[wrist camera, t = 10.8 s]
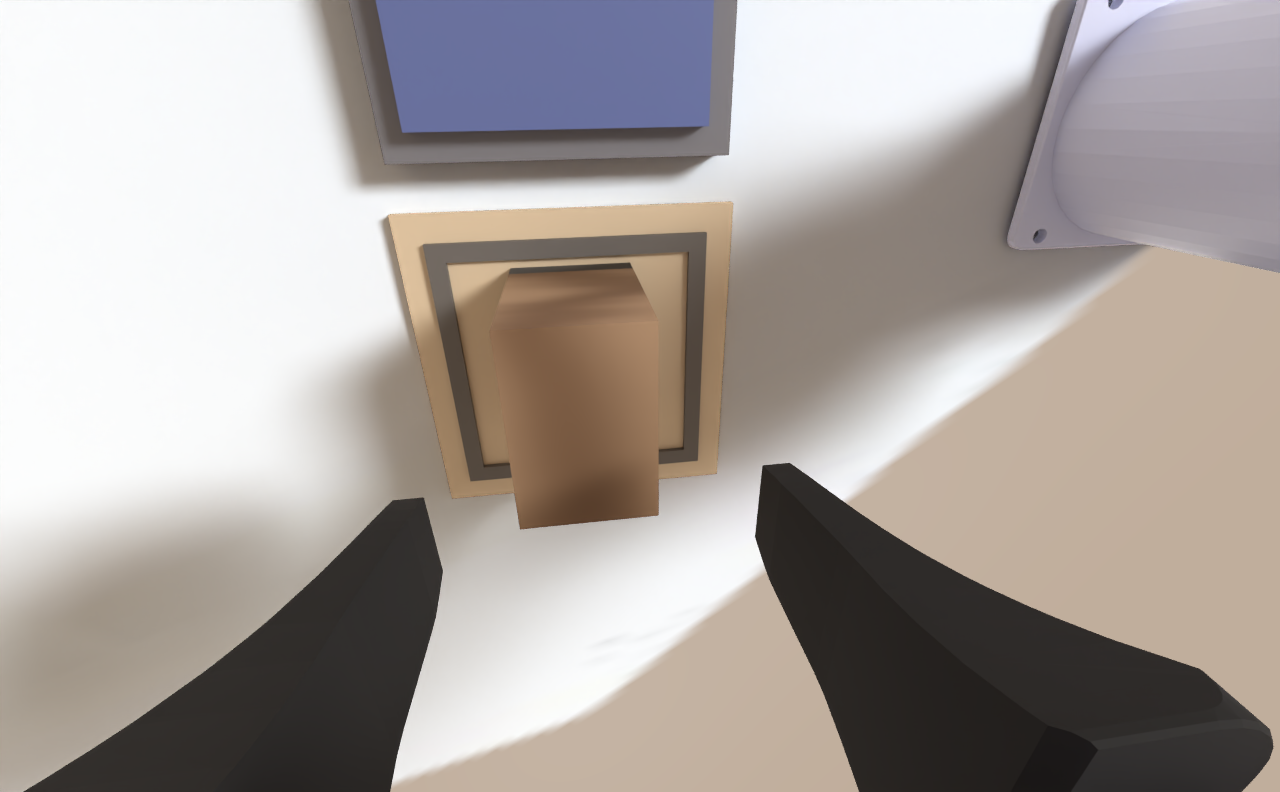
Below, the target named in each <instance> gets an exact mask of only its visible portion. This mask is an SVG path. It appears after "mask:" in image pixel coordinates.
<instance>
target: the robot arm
mask: <svg viewBox="0 0 1280 792" xmlns="http://www.w3.org/2000/svg"><path fill="white" fill-rule="evenodd" d="M1036 231H1038V235H1037V236H1036V238H1035V239H1033V236H1034V234H1035V232H1036ZM1007 242H1008V245H1009V246H1010V247H1011V248H1014V249H1018V250H1036V249H1056V248H1076V247H1096V246H1116V245H1136V244H1145V245H1150V246H1155V247H1160V248H1165V249H1169V250H1174V251H1179V252H1184V253H1189V254H1193V255H1198V256H1203V257H1208V258H1212V259H1217V260H1221V261H1226V262H1231V263H1236V264H1240V265H1245V266H1250V267H1255V268H1259V269H1264V270H1269V271H1274V272H1278V273H1280V0H1113V1H1112V3H1111V5H1110V7H1109V6H1108V0H1077V2H1076V6H1075V9H1074V12H1073V16H1072V19H1071V23H1070V26H1069V29H1068V33H1067V36H1066V40H1065V43H1064V46H1063V50H1062V53H1061V56H1060V60H1059V63H1058V67H1057V70H1056V73H1055V77H1054V80H1053V84H1052V87H1051V90H1050V94H1049V97H1048V100H1047V104H1046V107H1045V111H1044V114H1043V117H1042V121H1041V124H1040V128H1039V131H1038V134H1037V138H1036V141H1035V145H1034V148H1033V151H1032V155H1031V158H1030V161H1029V165H1028V168H1027V172H1026V175H1025V178H1024V182H1023V185H1022V189H1021V192H1020V195H1019V199H1018V202H1017V205H1016V209H1015V212H1014V216H1013V219H1012V222H1011V226H1010V229H1009V233H1008V237H1007ZM755 538H756V541H757V544H758V548H759V551H760V554H761V557H762V560H763V563H764V566H765V569H766V571H767V574H768V577H769V580H770V582H771V584H772V586H773V588H774V590H775V593H776V595H777V597H778V599H779V601H780V603H781V605H782V607H783V609H784V611H785V613H786V615H787V617H788V620H789V621H790V624H791V626H792V628H793V630H794V632H795V634H796V636H797V638H798V640H799V642H800V644H801V646H802V648H803V650H804V652H805V654H806V656H807V659H808V661H809V663H810V665H811V667H812V669H813V671H814V672H815V675H816V678H817V680H818V682H819V684H820V686H821V689H822V691H823V693H824V696H825V699H826V701H827V704H828V707H829V709H830V712H831V715H832V717H833V720H834V722H835V725H836V728H837V731H838V733H839V736H840V739H841V741H842V744H843V747H844V750H845V753H846V755H847V758H848V761H849V764H850V767H851V770H852V772H853V775H854V778H855V781H856V784H857V787H858V790H859V792H1242V791H1243V790H1244V789H1245V788H1246V786H1248V784H1249V783H1250V782H1251V781H1252V780H1253V779H1254V778H1255V777H1256V776H1257V775H1258V774H1259V773H1260V771H1261V770H1262V769H1263V767H1264V766H1265V765H1266V763H1267V762H1268V761H1269V759H1270V756H1271V753H1272V750H1273V740H1272V736H1271V732H1270V729H1269V728H1268V727H1267V726H1266V725H1264V724H1263V723H1262V722H1261V721H1260V720H1259V719H1257V718H1256V717H1255V716H1254V715H1253V714H1252V713H1250V712H1249V711H1248V710H1247V709H1246V708H1245V707H1244V706H1242V705H1241V704H1240V703H1239V702H1238V701H1237V700H1235V699H1234V698H1233V697H1232V696H1231V695H1230V694H1229V693H1227V692H1226V691H1225V690H1224V689H1223V688H1222V687H1221V686H1219V685H1218V684H1217V683H1216V682H1215V681H1214V680H1212V679H1211V678H1210V677H1209V676H1207V674H1205V673H1204V672H1203V671H1202V670H1200V669H1198V668H1195V667H1192V666H1189V665H1186V664H1183V663H1180V662H1177V661H1175V660H1171V659H1169V658H1166V657H1163V656H1160V655H1156V654H1154V653H1151V652H1147V651H1145V650H1142V649H1139V648H1136V647H1133V646H1130V645H1127V644H1124V643H1121V642H1117V641H1115V640H1112V639H1109V638H1106V637H1104V636H1101V635H1099V634H1096V633H1093V632H1091V631H1088V630H1086V629H1083V628H1081V627H1078V626H1075V625H1073V624H1070V623H1068V622H1065V621H1063V620H1060V619H1057V618H1055V617H1053V616H1050V615H1048V614H1045V613H1043V612H1041V611H1038V610H1036V609H1034V608H1031V607H1029V606H1027V605H1024V604H1022V603H1020V602H1018V601H1016V600H1013V599H1011V598H1009V597H1007V596H1005V595H1003V594H1000V593H998V592H996V591H994V590H992V589H990V588H987V587H985V586H983V585H981V584H979V583H977V582H975V581H973V580H971V579H969V578H967V577H965V576H963V575H962V574H960V573H958V572H956V571H954V570H952V569H950V568H948V567H947V566H945V565H943V564H941V563H939V562H937V561H936V560H934V559H932V558H930V557H928V556H926V555H925V554H923V553H921V552H920V551H918V550H916V549H914V548H913V547H911V546H910V545H908V544H907V543H905V542H903V541H902V540H900V539H898V538H897V537H895V536H894V535H892V534H890V533H889V532H887V531H886V530H884V529H882V528H881V527H880V526H878V525H877V524H875V523H874V522H872V521H870V520H869V519H868V518H866V517H865V516H863V515H862V514H860V513H859V512H857V511H856V510H854V509H853V508H852V507H850V506H849V505H847V504H846V503H845V502H843V501H842V500H840V499H839V498H838V497H836V496H835V495H834V494H832V493H831V492H829V491H828V490H827V489H825V488H824V487H823V486H821V485H820V484H818V483H817V482H816V481H814V480H813V479H812V478H810V477H809V476H808V475H806V474H805V473H803V472H802V471H801V470H799V469H798V468H796V467H795V466H793V465H792V464H790V463H784V464H773V465H763V467H762V477H761V486H760V496H759V505H758V514H757V524H756V533H755ZM442 573H443V570H442V566H441V562H440V559H439V555H438V551H437V547H436V543H435V539H434V536H433V532H432V528H431V524H430V520H429V517H428V513H427V509H426V505H425V501H424V498H414V499H403V500H393V501H392V502H391V503H390V504H389V505H388V506H387V507H386V508H385V509H384V510H383V511H382V512H381V513H380V514H379V515H378V516H377V517H376V518H375V519H374V520H373V521H372V522H371V523H370V524H369V525H368V526H367V527H366V528H365V529H364V530H363V531H362V532H361V533H360V534H359V535H358V536H357V537H356V538H355V539H354V540H353V541H352V542H351V543H350V544H349V545H348V546H347V547H346V548H345V549H344V550H343V551H342V552H341V553H340V554H339V555H338V556H337V557H336V558H335V559H334V560H333V561H332V562H331V563H330V564H329V565H328V566H327V567H326V568H325V569H324V570H323V571H322V572H321V573H320V574H319V575H318V576H317V577H316V578H315V579H314V580H312V581H311V582H310V583H309V584H308V585H307V586H306V587H305V588H304V589H303V590H302V591H300V592H299V593H298V594H297V595H296V596H295V597H294V598H293V599H292V600H291V601H289V602H288V603H287V604H286V605H285V606H284V607H283V608H282V609H281V610H280V611H279V612H277V613H276V614H275V615H274V616H273V617H272V618H271V619H269V620H268V621H267V622H266V623H265V624H264V625H262V626H261V627H260V628H259V629H258V630H256V631H255V632H254V633H253V634H252V635H250V636H249V637H248V638H247V639H246V640H244V641H243V642H242V643H241V644H239V645H238V646H237V647H235V648H234V649H233V650H232V651H230V652H229V653H228V654H227V655H225V656H224V657H223V658H222V659H220V660H219V661H218V662H216V663H215V664H214V665H213V666H211V667H210V668H209V669H207V670H206V671H205V672H203V673H202V674H201V675H199V676H198V677H196V678H195V679H194V680H192V681H191V682H189V683H188V684H187V685H185V686H184V687H182V688H181V689H179V690H178V691H177V692H175V693H174V694H172V695H171V696H170V697H168V698H167V699H165V700H164V701H163V702H161V703H160V704H158V705H157V706H156V707H154V708H153V709H151V710H150V711H149V712H147V713H146V714H144V715H143V716H142V717H140V718H139V719H137V720H136V721H134V722H133V723H131V724H130V725H128V726H127V727H125V728H124V729H122V730H121V731H119V732H118V733H116V734H115V735H113V736H112V737H110V738H109V739H107V740H105V741H104V742H102V743H101V744H99V745H98V746H96V747H95V748H93V749H92V750H90V751H89V752H87V753H85V754H84V755H82V756H81V757H79V758H77V759H76V760H74V761H73V762H71V763H69V764H68V765H66V766H65V767H63V768H61V769H60V770H58V771H57V772H55V773H54V774H52V775H50V776H49V777H47V778H45V779H44V780H42V781H41V782H39V783H37V784H36V785H34V786H32V787H31V788H29V789H27V790H26V791H24V792H390V789H391V784H392V779H393V774H394V768H395V763H396V758H397V754H398V750H399V746H400V742H401V738H402V733H403V729H404V726H405V723H406V719H407V716H408V712H409V709H410V705H411V702H412V699H413V695H414V692H415V688H416V685H417V681H418V678H419V675H420V671H421V668H422V664H423V661H424V657H425V654H426V650H427V647H428V643H429V640H430V636H431V633H432V629H433V626H434V622H435V618H436V612H437V606H438V600H439V594H440V587H441V580H442Z"/></svg>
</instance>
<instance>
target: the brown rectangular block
mask: <svg viewBox="0 0 1280 792" xmlns="http://www.w3.org/2000/svg"><path fill="white" fill-rule="evenodd" d="M489 333H490V340H491V346H492V353H493V359H494V365H495V372H496V378H497V385H498V391H499V397H500V404H501V410H502V417H503V423H504V429H505V436H506V442H507V449H508V455H509V461H510V468H511V474H512V481H513V487H514V493H515V500H516V506H517V513H518V519H519V525H520V529H528V528H538V527H548V526H558V525H568V524H578V523H588V522H598V521H608V520H618V519H628V518H638V517H647V516H657V515H659V321H658V319H657V317H656V314H655V312H654V310H653V308H652V306H651V304H650V302H649V300H648V298H647V296H646V294H645V292H644V290H643V288H642V286H641V284H640V282H639V280H638V278H637V276H636V274H635V272H634V270H633V268H632V266H631V263H630V262H629V263H608V264H587V265H566V266H545V267H524V268H510V271H509V274H508V277H507V280H506V283H505V286H504V289H503V292H502V295H501V298H500V301H499V303H498V306H497V309H496V312H495V315H494V318H493V321H492V324H491V327H490V330H489Z"/></svg>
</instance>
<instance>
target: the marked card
mask: <svg viewBox="0 0 1280 792" xmlns="http://www.w3.org/2000/svg"><path fill="white" fill-rule="evenodd" d="M732 214H733V202H704V203H677V204H650V205H622V206H595V207H568V208H541V209H513V210H486V211H459V212H432V213H405V214H390V215H388V218H389V222H390V227H391V231H392V236H393V240H394V244H395V249H396V253H397V258H398V262H399V267H400V271H401V275H402V280H403V284H404V289H405V293H406V297H407V302H408V306H409V311H410V315H411V320H412V324H413V328H414V333H415V337H416V342H417V346H418V350H419V355H420V359H421V364H422V368H423V373H424V377H425V381H426V386H427V390H428V395H429V399H430V403H431V408H432V412H433V417H434V421H435V425H436V430H437V434H438V439H439V443H440V448H441V452H442V456H443V461H444V465H445V470H446V474H447V478H448V483H449V487H450V492H451V496H452V499H454V498H465V497H475V496H486V495H497V494H507V493H514V487H513V481H512V474H511V468H510V461H509V455H508V449H507V442H506V436H505V429H504V423H503V417H502V410H501V404H500V397H499V391H498V385H497V378H496V372H495V365H494V359H493V353H492V346H491V340H490V333H489V330H490V327H491V324H492V321H493V318H494V315H495V312H496V309H497V306H498V303H499V301H500V298H501V295H502V292H503V289H504V286H505V283H506V280H507V277H508V274H509V271H510V268H524V267H545V266H566V265H587V264H608V263H629V262H630V263H631V266H632V268H633V270H634V272H635V274H636V276H637V278H638V280H639V282H640V284H641V286H642V288H643V290H644V292H645V294H646V296H647V298H648V300H649V302H650V304H651V306H652V308H653V310H654V312H655V314H656V317H657V319H658V321H659V479H667V478H678V477H688V476H699V475H709V474H717V460H718V444H719V427H720V411H721V394H722V378H723V362H724V345H725V329H726V312H727V296H728V279H729V263H730V246H731V230H732Z"/></svg>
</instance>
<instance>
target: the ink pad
mask: <svg viewBox="0 0 1280 792" xmlns="http://www.w3.org/2000/svg"><path fill="white" fill-rule="evenodd" d="M349 4H350V9H351V13H352V18H353V22H354V27H355V32H356V36H357V41H358V45H359V50H360V54H361V59H362V63H363V68H364V72H365V77H366V82H367V86H368V91H369V95H370V100H371V104H372V109H373V113H374V118H375V123H376V127H377V132H378V136H379V141H380V145H381V150H382V154H383V159H384V163H385V164H419V163H456V162H493V161H530V160H567V159H604V158H641V157H679V156H716V155H729V142H730V124H731V106H732V88H733V70H734V52H735V34H736V15H737V0H349Z"/></svg>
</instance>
